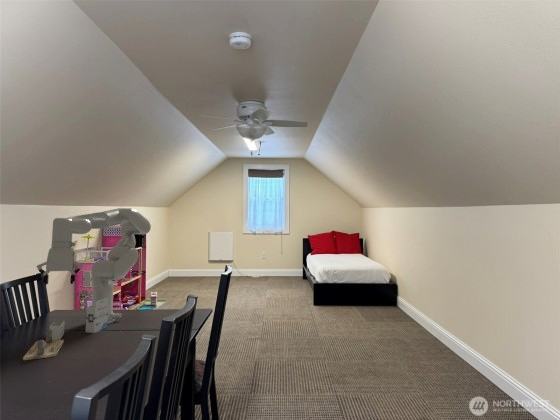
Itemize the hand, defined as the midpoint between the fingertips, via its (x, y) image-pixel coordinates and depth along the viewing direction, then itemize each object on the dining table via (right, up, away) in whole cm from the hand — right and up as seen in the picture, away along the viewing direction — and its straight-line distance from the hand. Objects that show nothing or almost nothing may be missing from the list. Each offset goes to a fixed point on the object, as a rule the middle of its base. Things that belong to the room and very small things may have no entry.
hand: (59, 283), depth 146 cm
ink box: (+11, -24, +10) cm, 29 cm away
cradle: (+5, -23, -16) cm, 28 cm away
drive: (-1, -24, -1) cm, 24 cm away
